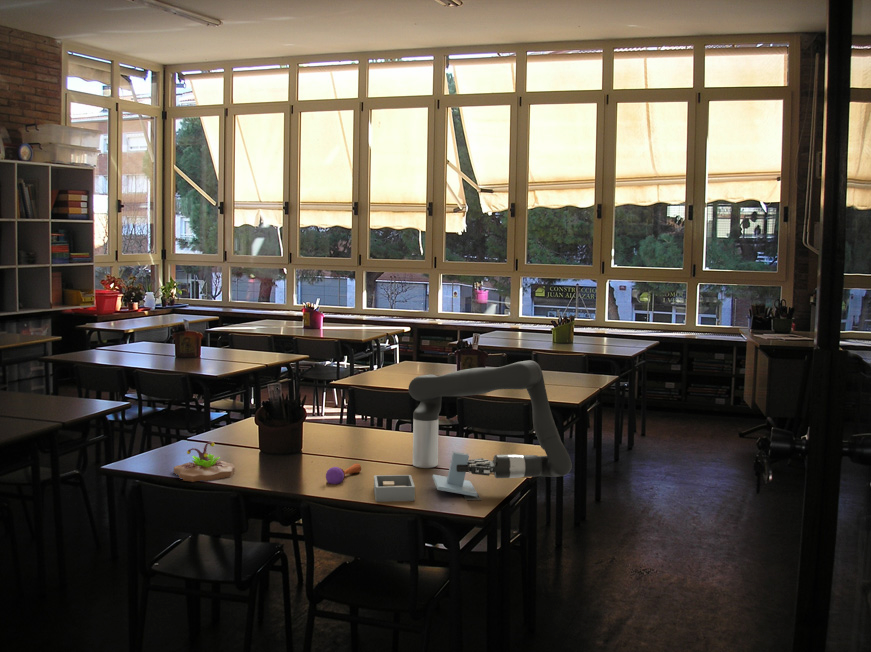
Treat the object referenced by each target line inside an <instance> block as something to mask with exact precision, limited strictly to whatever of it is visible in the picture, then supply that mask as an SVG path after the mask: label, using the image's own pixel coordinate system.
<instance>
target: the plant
mask: <svg viewBox="0 0 871 652" xmlns="http://www.w3.org/2000/svg"><path fill="white" fill-rule="evenodd" d="M208 445H209V446H210V447H215V445H216V444H215V442H214V441H208V442H207V443H206V444H204V448H203V451H200V449H198V448H195V447H192V448H190V449H188V450H187V451H186V454H187V455H190V454H191V452H192V451H193V450H194V451H196V453H198V456H197V455H192V459H191V461H189V462H186V463H183V464H178V465H176V466H174V467H173V474H174V473H175V474H177V475H179V477H178V478H182V479H183V480H182V481H184V482H191V483H194V482H201V481H200V480H204V481H203V482H209V481H208V480H210V481H214V479H216V480H219V479H220V478H221V479H225V477H227V478H230V476H231V477H232V476H233V475H232V474H233V473H234V472H236V469H235V468H236V467H235V465H234V464H233V463H231V462H230V463H229V462H226V461H223V460H219V459H220V458H221V456H217V457H215V455H214V454H211V453H209V454H208V451H207V448H208ZM175 474H174V475H175ZM234 474H235V473H234ZM177 475H176V476H177ZM221 479H220V480H221Z"/></svg>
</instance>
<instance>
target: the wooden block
mask: <svg viewBox="0 0 871 652" xmlns="http://www.w3.org/2000/svg"><path fill="white" fill-rule="evenodd" d="M388 486H394V481H383V487H388Z"/></svg>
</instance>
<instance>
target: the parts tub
mask: <svg viewBox="0 0 871 652" xmlns="http://www.w3.org/2000/svg"><path fill="white" fill-rule="evenodd" d="M383 481H394V486H388V487H383ZM415 489H416V486H415V483H414V480H413V477H412V474H390V475H389V474H381V475H378V474H377V475H376V474H375V475H373V492H374V498H375V499H374V500H375V502H377V503H378V502H381V503H382V502H415V499H416V493H415V492H416V491H415Z"/></svg>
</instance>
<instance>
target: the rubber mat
mask: <svg viewBox="0 0 871 652" xmlns="http://www.w3.org/2000/svg"><path fill="white" fill-rule="evenodd" d="M473 487H474V489H475V490H476V488H475V486H474V485H473ZM476 492H477V496H471V495H465V494H462V495H463V497H464V499H465V501H466V500H481V501H482V499H481V496H480V494H479V493H478V491H477V490H476Z"/></svg>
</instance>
